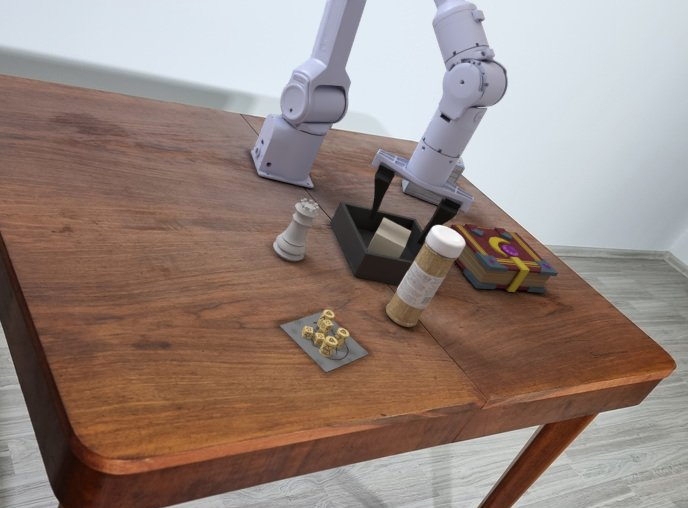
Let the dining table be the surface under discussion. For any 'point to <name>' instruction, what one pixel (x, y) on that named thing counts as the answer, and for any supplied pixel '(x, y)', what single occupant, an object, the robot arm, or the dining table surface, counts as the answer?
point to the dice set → (324, 340)
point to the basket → (357, 236)
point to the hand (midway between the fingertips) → (395, 229)
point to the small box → (389, 239)
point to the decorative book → (501, 260)
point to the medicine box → (428, 196)
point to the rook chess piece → (296, 232)
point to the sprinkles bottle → (425, 275)
